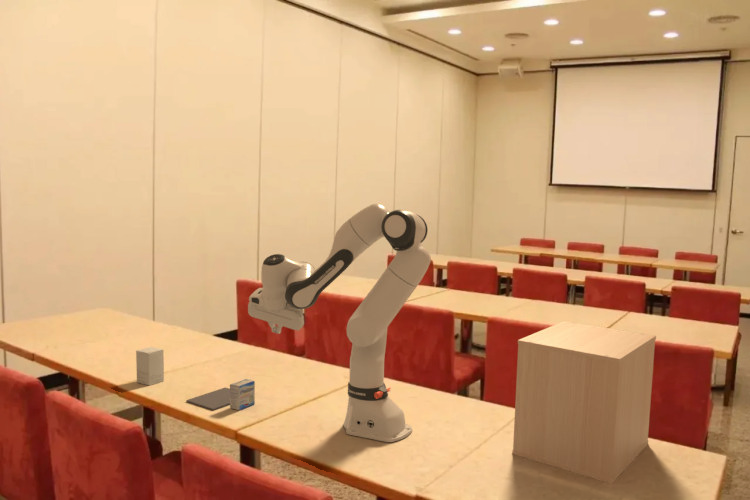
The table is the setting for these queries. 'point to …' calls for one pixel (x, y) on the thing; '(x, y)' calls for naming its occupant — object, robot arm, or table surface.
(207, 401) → the mat
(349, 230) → the robot arm
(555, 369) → the cabinet
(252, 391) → the medicine box
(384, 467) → the table surface
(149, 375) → the supplement box
